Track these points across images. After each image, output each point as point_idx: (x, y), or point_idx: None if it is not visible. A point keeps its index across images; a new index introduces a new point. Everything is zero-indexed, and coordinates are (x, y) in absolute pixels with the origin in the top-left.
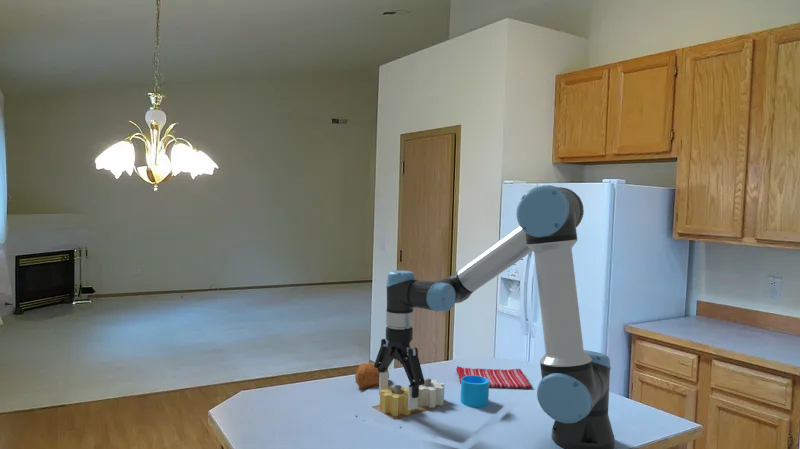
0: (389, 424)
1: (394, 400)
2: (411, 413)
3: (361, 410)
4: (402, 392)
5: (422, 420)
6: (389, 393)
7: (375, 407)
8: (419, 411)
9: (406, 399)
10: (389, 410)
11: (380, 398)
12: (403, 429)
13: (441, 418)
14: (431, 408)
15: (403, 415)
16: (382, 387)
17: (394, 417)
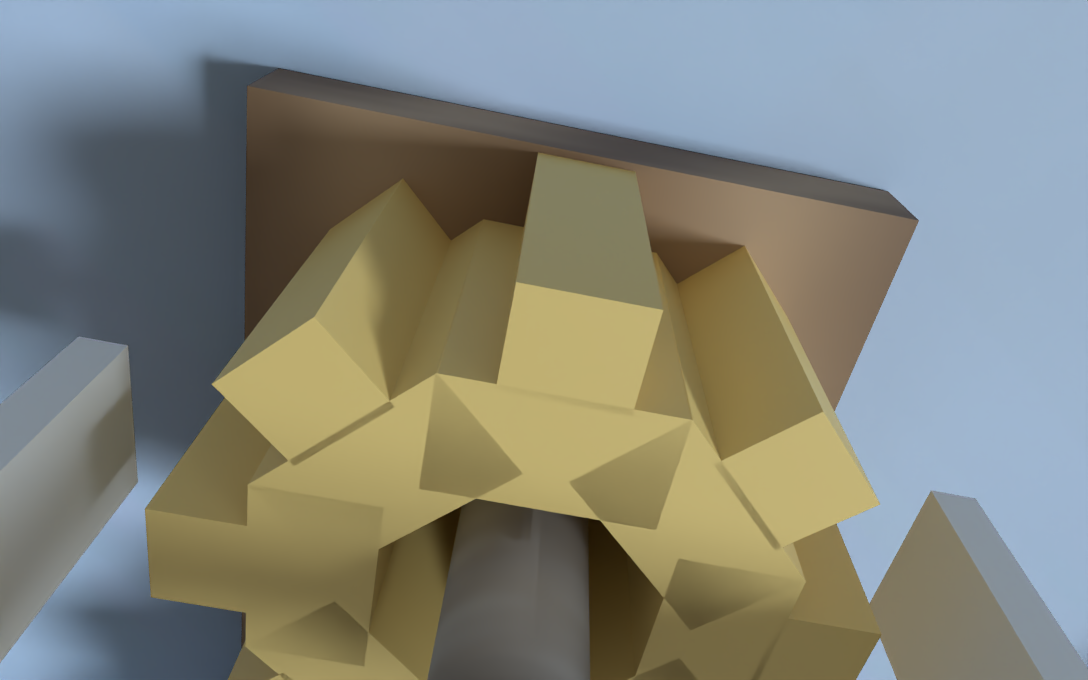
0: (347, 27)
1: (297, 308)
2: None
3: (1068, 128)
4: None
5: (190, 431)
6: (557, 447)
7: (842, 243)
8: None
9: (167, 481)
10: (501, 239)
11: (774, 331)
12: (71, 39)
13: (121, 588)
14: None
15: None
16: (970, 626)
17: (312, 143)
